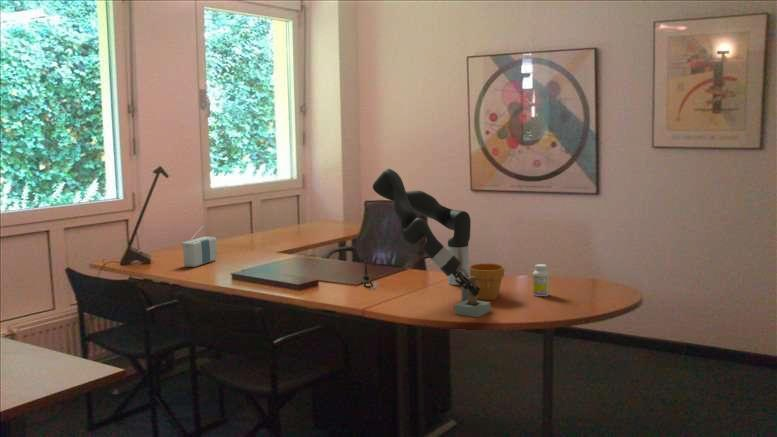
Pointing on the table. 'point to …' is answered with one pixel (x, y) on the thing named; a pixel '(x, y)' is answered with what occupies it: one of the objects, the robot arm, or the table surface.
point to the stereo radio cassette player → (199, 251)
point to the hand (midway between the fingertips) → (477, 292)
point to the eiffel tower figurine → (367, 280)
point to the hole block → (472, 308)
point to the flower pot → (487, 279)
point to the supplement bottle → (541, 280)
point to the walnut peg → (471, 298)
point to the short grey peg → (464, 294)
